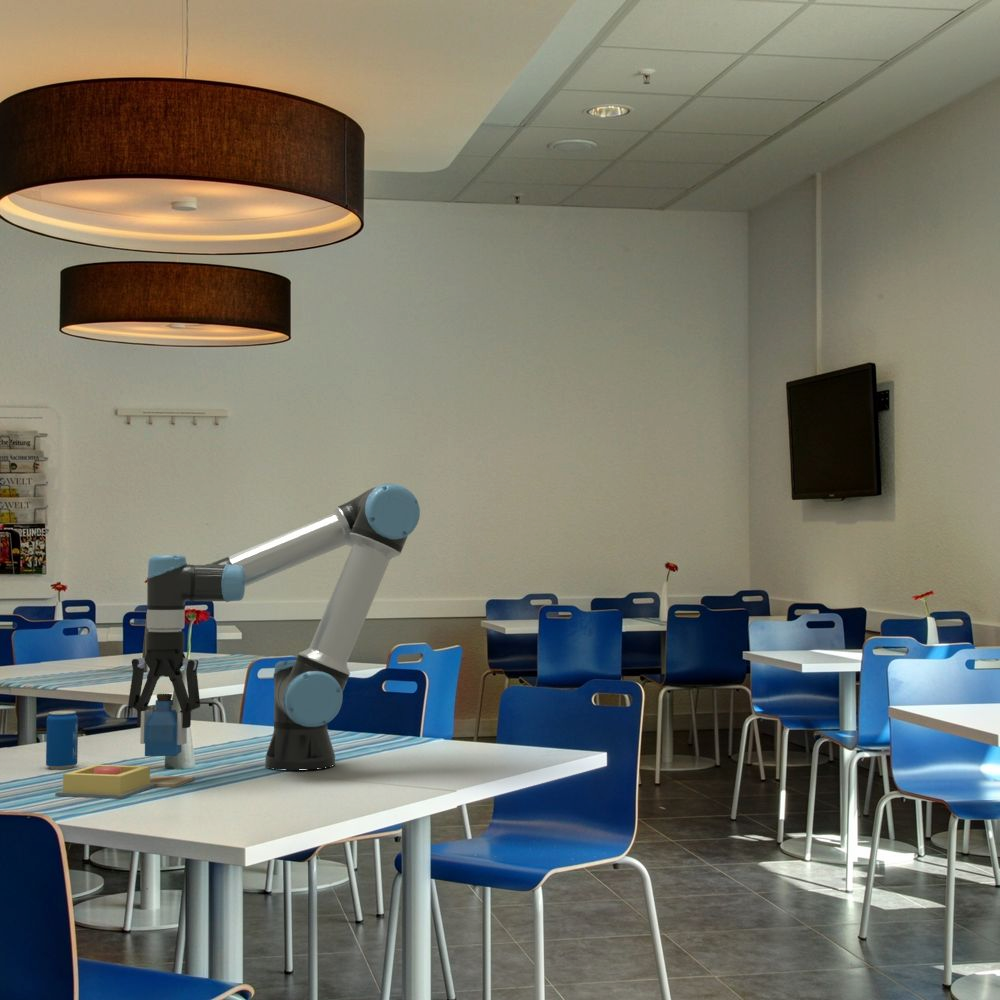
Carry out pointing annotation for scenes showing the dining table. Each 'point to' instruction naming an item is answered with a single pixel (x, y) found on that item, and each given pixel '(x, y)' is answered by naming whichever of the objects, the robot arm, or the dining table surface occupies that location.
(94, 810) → the dining table surface
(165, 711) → the perfume bottle
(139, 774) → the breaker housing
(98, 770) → the red short rounded piece
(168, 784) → the coaster
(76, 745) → the beverage can
